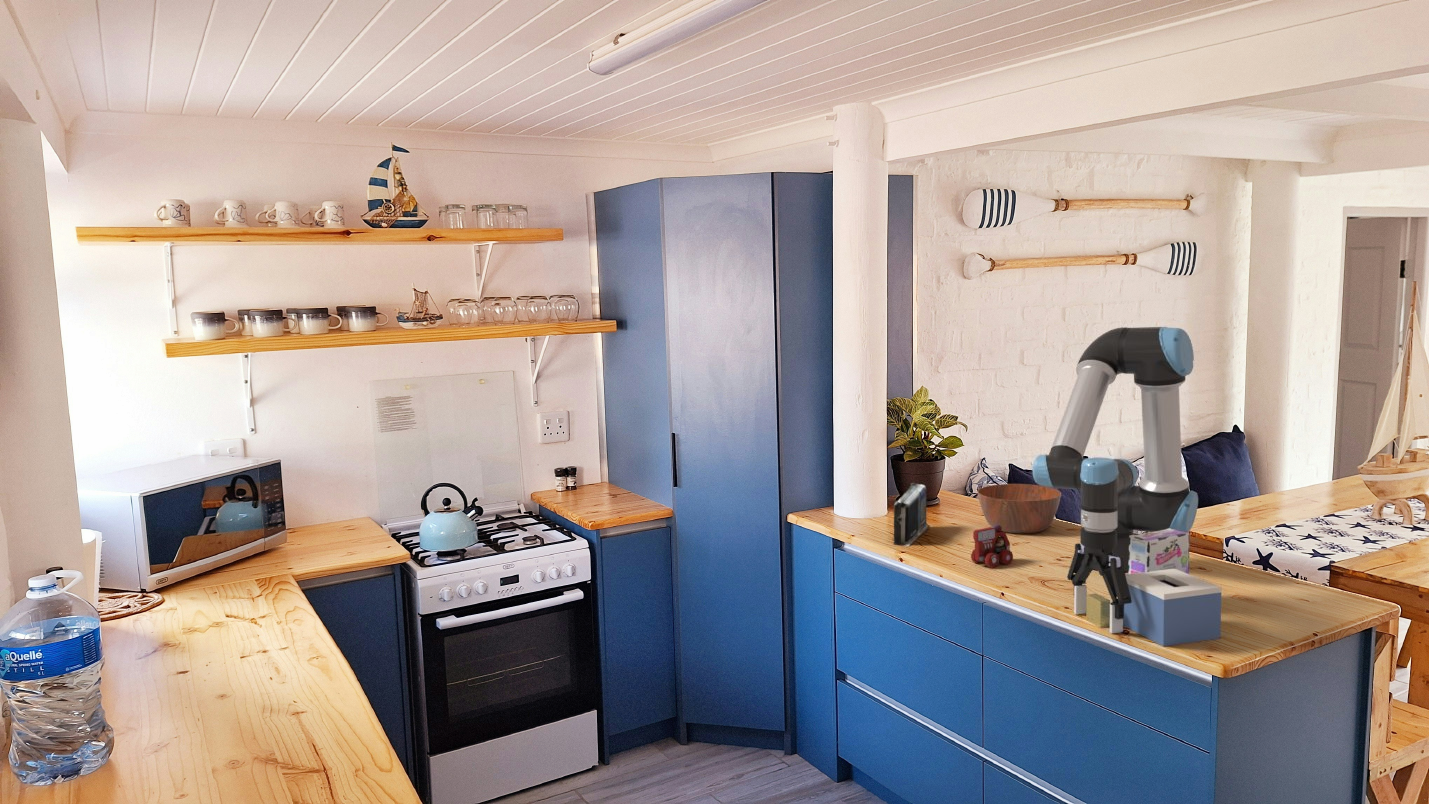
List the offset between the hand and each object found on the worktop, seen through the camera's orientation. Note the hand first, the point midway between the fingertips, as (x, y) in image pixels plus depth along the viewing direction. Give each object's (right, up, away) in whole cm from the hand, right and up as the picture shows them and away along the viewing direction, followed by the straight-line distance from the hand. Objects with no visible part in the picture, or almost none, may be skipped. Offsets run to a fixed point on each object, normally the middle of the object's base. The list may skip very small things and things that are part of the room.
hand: (1097, 622), depth 209 cm
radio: (-25, +8, +78) cm, 83 cm away
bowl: (+10, +10, +84) cm, 85 cm away
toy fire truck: (-9, +5, +48) cm, 49 cm away
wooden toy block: (0, 0, 0) cm, 0 cm away
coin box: (+13, 0, -6) cm, 14 cm away
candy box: (+20, +2, +13) cm, 24 cm away
